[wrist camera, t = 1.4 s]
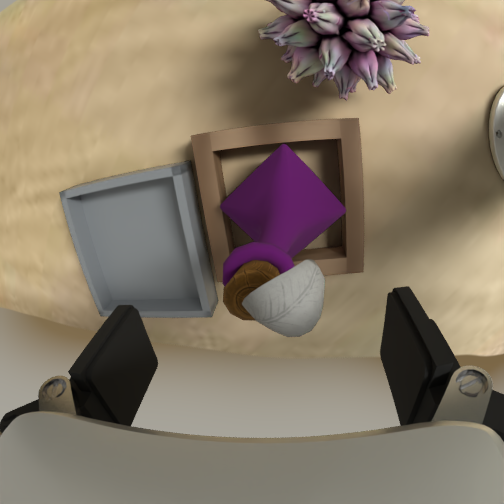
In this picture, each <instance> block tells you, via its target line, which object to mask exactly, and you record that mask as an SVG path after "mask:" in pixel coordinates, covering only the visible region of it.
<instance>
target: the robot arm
mask: <svg viewBox="0 0 504 504" xmlns="http://www.w3.org/2000/svg"><path fill="white" fill-rule="evenodd" d="M489 140H490V148H491V152H492V156H493V160H494V162H495V165H496V168H497V170H498V172H499V174H500V176H501V177H502V179H503V180H504V87H503V88H501V90H500V91H499V92H498V94H497V95H496V97H495V99H494V102H493V104H492V108H491V112H490V119H489ZM380 355H381V360H382V363H383V366H384V369H385V373H386V376H387V379H388V382H389V386H390V389H391V392H392V396H393V399H394V402H395V406H396V410H397V414H398V417H399V421H400V425H401V426H396V427H390V428H384V429H378V430H371V431H362V432H354V433H345V434H335V435H325V436H311V437H291V438H234V437H233V438H232V437H215V436H200V435H190V434H180V433H172V432H164V431H156V430H150V429H143V428H137V427H131V424H132V422H133V420H134V417H135V415H136V413H137V411H138V408H139V406H140V404H141V402H142V400H143V397H144V395H145V393H146V391H147V389H148V386H149V384H150V382H151V380H152V377H153V375H154V373H155V371H156V369H157V366H158V360H157V357H156V355H155V352H154V350H153V347H152V345H151V343H150V340H149V337H148V335H147V332H146V330H145V327H144V325H143V322H142V319H141V317H140V314H139V311H138V310H137V309H136V308H134V306H133V305H118V306H117V307H116V308H115V310H114V311H113V312H112V313H111V315H110V316H109V317H108V319H107V320H106V321H105V322H104V324H103V325H102V326H101V328H100V329H99V330H98V332H97V333H96V334H95V336H94V337H93V338H92V340H91V341H90V342H89V344H88V345H87V346H86V348H85V349H84V350H83V352H82V353H81V355H80V356H79V357H78V359H77V360H76V361H75V363H74V364H73V366H72V367H71V368H70V370H69V371H68V372H69V374H70V375H71V378H70V380H69V379H67V378H66V377H64V376H55V377H52V378H50V379H48V380H47V381H45V382H44V383H43V385H42V386H41V387H40V389H39V395H38V397H39V399H38V400H36V401H33V402H31V403H29V404H26V405H24V406H22V407H19V408H17V409H15V410H12V411H10V412H8V413H6V414H5V415H4V417H3V419H2V420H1V422H0V504H504V394H501V393H499V392H496V391H494V390H492V387H493V383H492V380H491V377H490V376H489V374H488V373H487V372H486V371H484V370H483V369H481V368H479V367H475V366H464V367H460V365H459V363H458V361H457V360H456V358H455V356H454V354H453V352H452V351H451V349H450V347H449V345H448V343H447V342H446V340H445V338H444V337H443V335H442V333H441V331H440V330H439V328H438V326H437V325H436V323H435V322H434V321H433V320H432V319H429V318H428V316H427V314H426V313H425V311H424V310H423V308H422V306H421V305H420V303H419V301H418V300H417V298H416V297H415V295H414V294H413V292H412V290H411V289H410V288H409V287H399V288H394V289H393V291H392V292H391V293H388V297H387V306H386V314H385V322H384V329H383V336H382V343H381V349H380Z"/></svg>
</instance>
